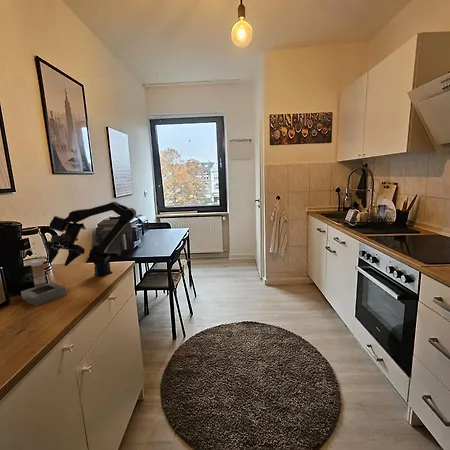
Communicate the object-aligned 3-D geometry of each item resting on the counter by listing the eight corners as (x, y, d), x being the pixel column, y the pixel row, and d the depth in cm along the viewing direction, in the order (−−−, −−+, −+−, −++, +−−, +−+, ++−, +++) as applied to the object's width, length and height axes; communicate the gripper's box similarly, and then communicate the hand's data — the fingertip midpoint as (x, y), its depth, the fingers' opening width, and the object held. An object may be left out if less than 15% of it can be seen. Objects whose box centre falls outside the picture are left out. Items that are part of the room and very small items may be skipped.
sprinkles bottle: (33, 292, 125) (28, 262, 123) (37, 288, 129) (32, 259, 127) (45, 290, 126) (40, 261, 124) (48, 286, 131) (44, 258, 128)
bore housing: (53, 289, 127) (51, 282, 127) (66, 295, 120) (65, 287, 120) (22, 299, 118) (20, 291, 117) (34, 306, 111) (33, 297, 110)
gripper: (43, 225, 135) (27, 255, 128) (76, 229, 130) (61, 261, 124) (60, 234, 145) (46, 263, 138) (91, 239, 140) (78, 269, 133)
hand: (57, 264), depth 133 cm, fingers open, 9 cm apart
